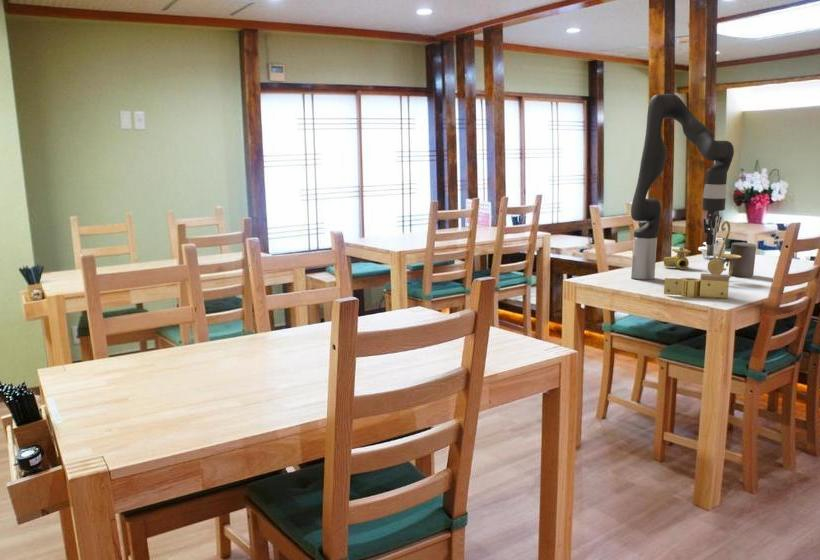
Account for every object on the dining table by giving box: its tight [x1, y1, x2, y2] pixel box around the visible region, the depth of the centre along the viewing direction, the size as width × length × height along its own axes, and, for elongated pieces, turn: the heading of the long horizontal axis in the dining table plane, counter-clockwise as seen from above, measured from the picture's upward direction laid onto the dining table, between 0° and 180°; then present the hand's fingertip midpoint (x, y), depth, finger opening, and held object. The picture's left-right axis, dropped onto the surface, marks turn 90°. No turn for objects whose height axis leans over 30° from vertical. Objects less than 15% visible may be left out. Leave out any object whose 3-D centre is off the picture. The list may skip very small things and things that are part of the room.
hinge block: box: [663, 273, 730, 300], centre depth 247 cm, size 22×7×8 cm, turn 72°
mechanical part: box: [698, 234, 726, 260], centre depth 331 cm, size 11×12×12 cm
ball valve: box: [663, 246, 691, 270], centre depth 307 cm, size 13×10×10 cm
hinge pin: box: [707, 223, 718, 257], centre depth 246 cm, size 4×4×12 cm
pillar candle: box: [727, 240, 757, 278], centre depth 286 cm, size 10×10×15 cm
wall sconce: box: [707, 220, 741, 279], centre depth 271 cm, size 14×10×25 cm
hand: (710, 244), depth 246 cm, fingers closed on hinge pin, 2 cm apart
